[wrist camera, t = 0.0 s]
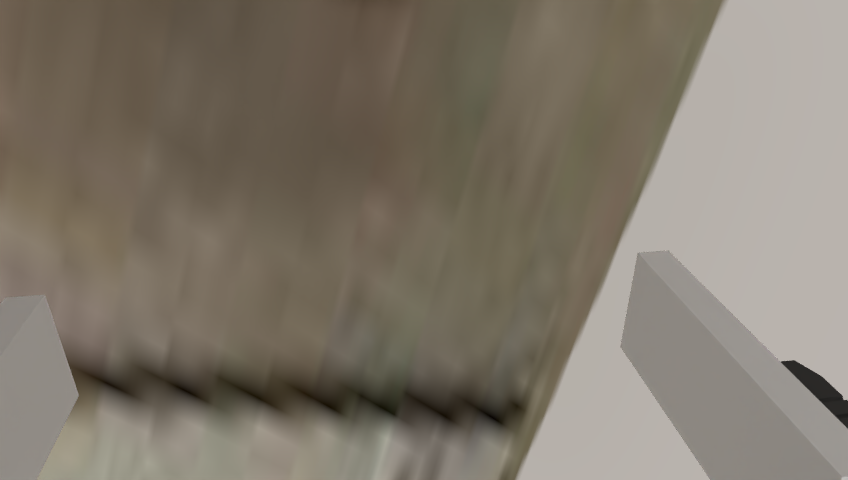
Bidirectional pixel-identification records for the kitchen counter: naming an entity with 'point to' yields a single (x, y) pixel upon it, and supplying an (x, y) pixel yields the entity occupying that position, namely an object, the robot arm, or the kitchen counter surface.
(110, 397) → the kitchen counter surface
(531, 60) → the kitchen counter surface
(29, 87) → the kitchen counter surface
